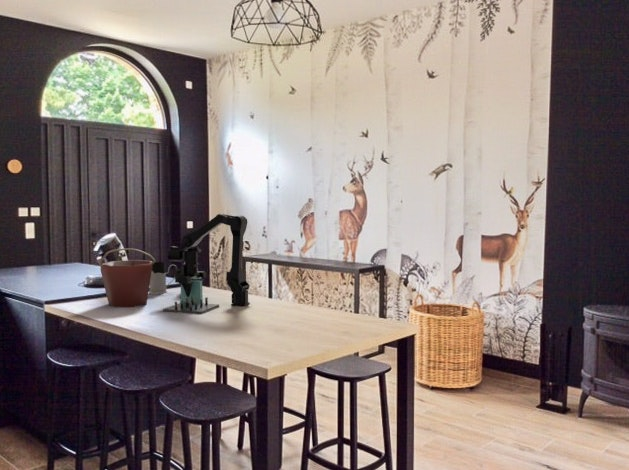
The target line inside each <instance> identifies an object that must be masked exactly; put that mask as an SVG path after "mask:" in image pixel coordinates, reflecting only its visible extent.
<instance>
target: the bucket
mask: <svg viewBox="0 0 629 470" xmlns="http://www.w3.org/2000/svg"><path fill="white" fill-rule="evenodd" d="M120 251H135V252H138V253H141V254H143V255H146V256H148V257H149V258H150V259H152V260H145V259H144V260H143V259H141V260H140V259H130V260H129V259H127V260H113V261H107V262H103V261H104V260H105V258H106V257H107V256H108V255H109V254H111V253H115V252H120ZM155 262H156V259H155V258H154V257H153V255H151V254H150V253H147V252H145V251H143V250H140V249H137V248H118V249H117V248H116V249H111V250H109V251H106V252H105V253H104V255H103V256H102V257H100V258H98V259H97V261H96V263H98V265H99V267H100V274H101V279H102V281H103V288H104V290H105V294H106V298H107V302H108V305H109V306H111V307H114V308H134V307H140V306H145V305H147V303H148V298H149V292H150V279H151V273H152V265H153V264H154V263H155Z"/></svg>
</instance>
